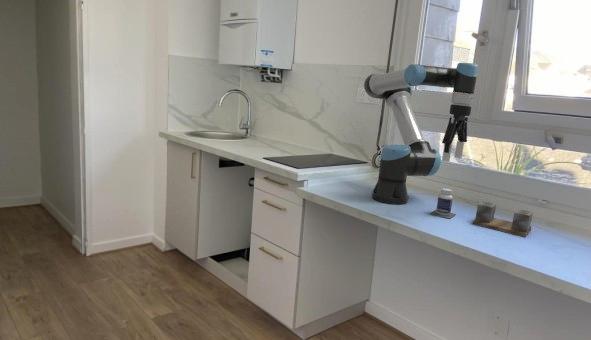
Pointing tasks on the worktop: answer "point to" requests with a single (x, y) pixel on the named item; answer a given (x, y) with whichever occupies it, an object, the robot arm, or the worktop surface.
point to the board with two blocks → (516, 227)
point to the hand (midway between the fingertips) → (451, 159)
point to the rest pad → (442, 215)
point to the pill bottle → (444, 202)
